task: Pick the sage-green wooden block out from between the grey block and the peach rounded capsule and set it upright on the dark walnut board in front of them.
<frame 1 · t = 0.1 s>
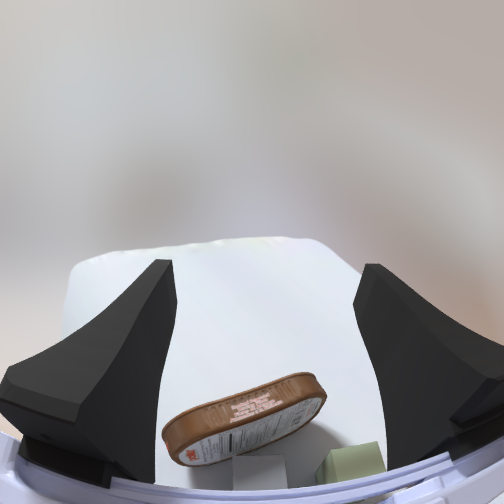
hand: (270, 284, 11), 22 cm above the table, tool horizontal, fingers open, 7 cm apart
grey block: (256, 492, 20), on the table
green block: (339, 487, 20), on the table
tin: (248, 443, 25), on the table
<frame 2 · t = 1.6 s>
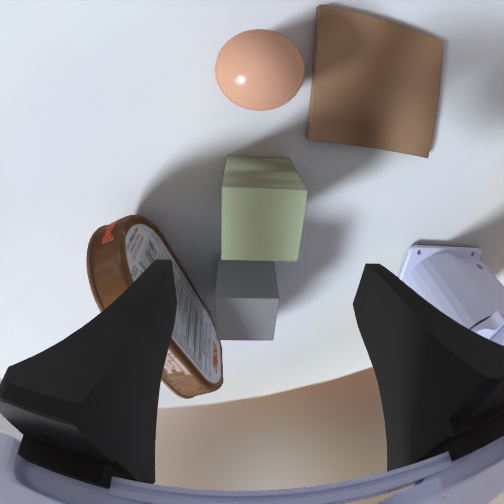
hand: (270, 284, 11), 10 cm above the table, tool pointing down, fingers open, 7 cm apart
walnut board: (378, 82, 16), on the table
peach rounded capsule: (255, 72, 16), on the table
grey block: (244, 275, 24), on the table
green block: (256, 185, 20), on the table
tin: (176, 276, 24), on the table
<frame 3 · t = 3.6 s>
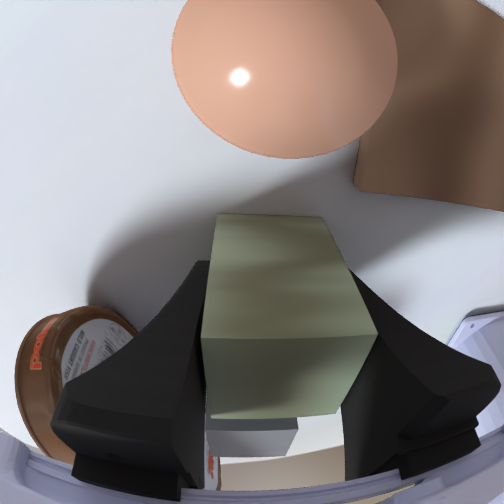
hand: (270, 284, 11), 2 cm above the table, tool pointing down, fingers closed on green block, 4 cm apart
walnut board: (463, 96, 8), on the table
peach rounded capsule: (266, 64, 8), on the table
grey block: (247, 366, 16), on the table
green block: (266, 259, 12), on the table, touching gripper
tin: (155, 364, 17), on the table
when the fingers open (4 cm above the table, at t = 7.8 s): green block drops 1 cm, resting on walnut board.
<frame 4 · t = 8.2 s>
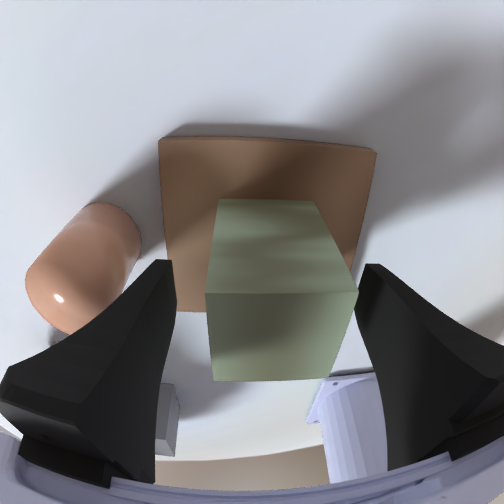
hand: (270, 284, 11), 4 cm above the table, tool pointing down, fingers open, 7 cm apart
walnut board: (263, 232, 14), on the table
peach rounded capsule: (105, 238, 14), on the table
grey block: (153, 394, 22), on the table
green block: (264, 240, 14), point 1 cm above the table, touching walnut board
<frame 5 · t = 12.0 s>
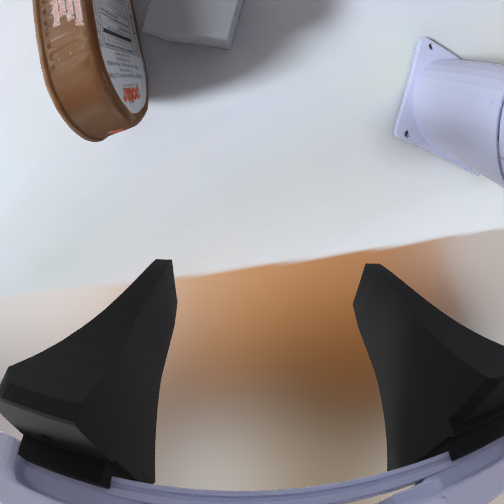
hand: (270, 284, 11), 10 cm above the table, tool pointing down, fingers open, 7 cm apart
grey block: (205, 16, 14), on the table
tin: (121, 20, 13), on the table
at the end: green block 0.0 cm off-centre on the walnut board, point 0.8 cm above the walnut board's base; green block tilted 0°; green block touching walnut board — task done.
